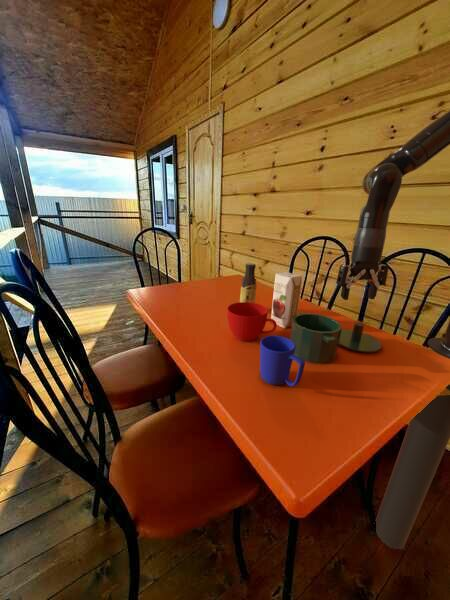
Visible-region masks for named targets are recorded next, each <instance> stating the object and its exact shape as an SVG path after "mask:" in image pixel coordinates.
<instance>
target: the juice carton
mask: <svg viewBox="0 0 450 600" xmlns="http://www.w3.org/2000/svg"><path fill="white" fill-rule="evenodd" d="M274 277H275V278H274V284H273V286H274V287H273V295H272V305H271V316H270V319H273V320H275V322H276V324H277V326H278V327H280V328H282V329H287V328H289V327H290V328H291V326H292V318H293V317H294V316H296V315H298V314H299V313H298V312H299V307H300V306H299V305H300V300H301V299H300V297H301V292H302V291H301V290H302V282H303V280H302V279H303V275H300V274H293V273H291V272H289V271H283V272H278V273H275V276H274Z"/></svg>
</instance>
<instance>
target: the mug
mask: <svg viewBox="0 0 450 600" xmlns="http://www.w3.org/2000/svg"><path fill="white" fill-rule="evenodd" d="M259 344H260V345H259V346H260V349H259V350H260V352H259V353H260V354H259V355H260V357H259V358H260V361H259V362H260V365H259V367H260V368H259V369H260V370H259V371H260V372H259V373H260V376H261V379H262V380H263V381H264V382H265V383H266V384H268V385H273V386H282V385H284V384H285V383H286V384H287V385H288V386H289V387H296V386H297V385H298V384H299V383H300V382H301V379H302V377H303V373H304V371H305V365H306V361H304V360H302V359H300V358H299V357H297V356H296V355H294V351H295V344H294V342H293V341H291V340H290V338H287V337H285V336H281V335H268V336H267V335H266V336H264V337H263V338H261V340H260V343H259ZM293 361H295V362H296V363H297V364H298V365H299V366H298V370H297V374H296V378H295V380H294V382H293V381H291V379H290V378H289V376H290V373H291V368H292V364H293Z"/></svg>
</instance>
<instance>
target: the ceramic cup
mask: <svg viewBox="0 0 450 600" xmlns="http://www.w3.org/2000/svg"><path fill="white" fill-rule="evenodd" d="M226 312H227V313H226V315H227V324H228V327H229V330H230V331H231V333H232V334H233V336H235V338H236V339H237V340H239V341H241V342H252V341H254V340H255V339H256V338H258V337H259V336H260V335H266V334H267V335H268V334H271V333H273V332H274V331H275V330H276V329H277V326H278V325H277V324H276V322H275V320H273V319H271V318H268V313H269V311H268V308H267V307H266V306H264V305H263V304H260V303H256V302H255V303H250V302H240V301H239V302H234V303H231V304H229V305H228V306H227V309H226ZM267 322H270V323H272V324H273V327H272V329H270V330H264V328H265V326H266V323H267Z"/></svg>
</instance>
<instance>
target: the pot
mask: <svg viewBox="0 0 450 600" xmlns="http://www.w3.org/2000/svg"><path fill="white" fill-rule="evenodd" d="M298 312H299V311H298ZM304 327H305V328H304ZM341 330H343V327H342V324H341V323H340V322H339V321H338V320H337V319H334V318H333V317H330V316H327V315H322V314H319V313H307V312H304V311H303V312H301V311H300V312H299V313H298V314H297V315H296V316H294V317H293V318H292V326H290V335H289V339H290V340H291V341H293V342H294V344H295V351H294V355H296V356H297V357H299V358H300V359H302V360H303V361H304V362H309V363H313V364H327V363H330V362H333V361H335V359H336V357H337V353H338V349H339V346H340V345H339V340H340V335H341Z"/></svg>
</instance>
